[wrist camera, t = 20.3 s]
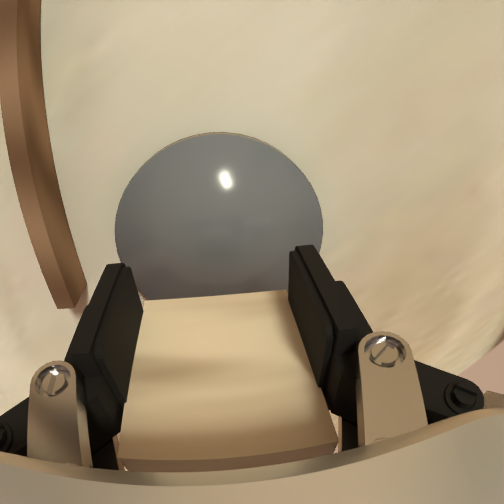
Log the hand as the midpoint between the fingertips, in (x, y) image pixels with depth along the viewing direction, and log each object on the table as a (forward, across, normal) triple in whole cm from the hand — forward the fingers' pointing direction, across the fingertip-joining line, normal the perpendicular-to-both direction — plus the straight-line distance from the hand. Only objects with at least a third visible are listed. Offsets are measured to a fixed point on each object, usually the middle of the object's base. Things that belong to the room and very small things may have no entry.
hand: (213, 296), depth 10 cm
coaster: (+5, 0, 0) cm, 5 cm away
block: (+1, 0, +3) cm, 3 cm away
